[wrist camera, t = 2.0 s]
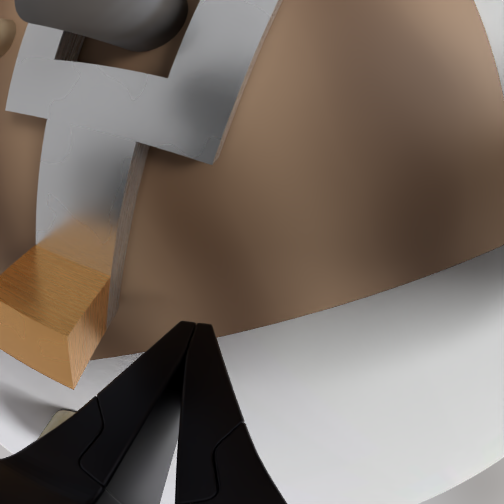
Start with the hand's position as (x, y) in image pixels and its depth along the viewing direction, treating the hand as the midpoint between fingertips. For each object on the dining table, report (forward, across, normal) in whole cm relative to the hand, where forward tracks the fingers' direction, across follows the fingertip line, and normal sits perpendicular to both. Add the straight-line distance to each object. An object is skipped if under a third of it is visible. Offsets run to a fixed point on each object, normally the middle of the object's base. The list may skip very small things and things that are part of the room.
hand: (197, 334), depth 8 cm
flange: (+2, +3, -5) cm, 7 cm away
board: (+3, +3, -8) cm, 9 cm away
